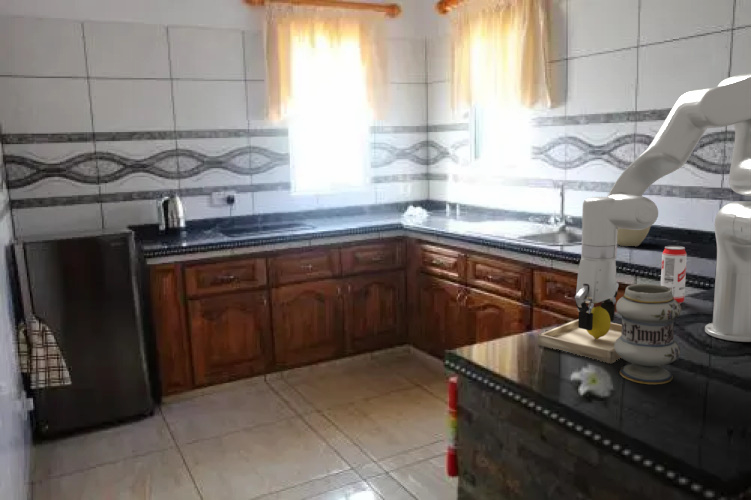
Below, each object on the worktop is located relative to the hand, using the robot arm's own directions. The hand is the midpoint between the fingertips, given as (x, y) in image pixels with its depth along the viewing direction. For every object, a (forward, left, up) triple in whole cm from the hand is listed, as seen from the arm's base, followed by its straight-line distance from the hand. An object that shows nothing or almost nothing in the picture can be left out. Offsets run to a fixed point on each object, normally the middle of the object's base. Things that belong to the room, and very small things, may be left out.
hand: (596, 324), depth 144 cm
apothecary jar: (+11, +17, -5) cm, 21 cm away
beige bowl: (-128, -57, -5) cm, 140 cm away
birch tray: (0, 0, -5) cm, 5 cm away
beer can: (-47, -3, -5) cm, 47 cm away
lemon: (0, 0, -4) cm, 4 cm away
